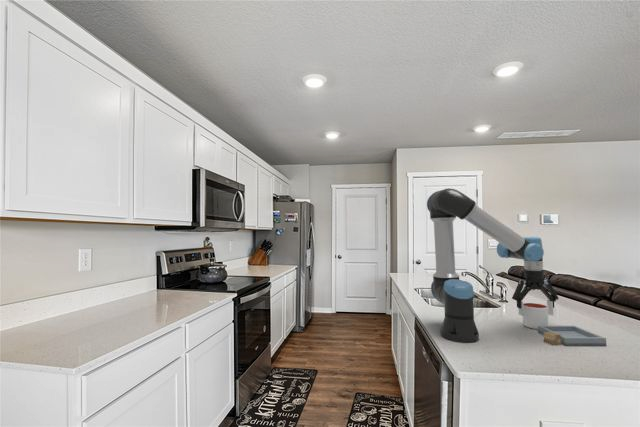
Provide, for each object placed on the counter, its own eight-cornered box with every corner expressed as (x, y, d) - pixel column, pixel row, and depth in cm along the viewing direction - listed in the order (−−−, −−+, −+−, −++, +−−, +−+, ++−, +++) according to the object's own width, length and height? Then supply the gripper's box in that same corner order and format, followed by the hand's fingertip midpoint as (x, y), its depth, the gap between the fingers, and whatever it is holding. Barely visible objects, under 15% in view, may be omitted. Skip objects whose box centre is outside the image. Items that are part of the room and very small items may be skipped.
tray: (565, 345, 126) (565, 338, 126) (538, 332, 142) (538, 325, 142) (606, 345, 126) (605, 338, 126) (574, 332, 142) (574, 325, 142)
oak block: (553, 345, 127) (553, 335, 127) (543, 342, 130) (543, 332, 131) (560, 344, 128) (560, 334, 128) (550, 341, 132) (550, 331, 132)
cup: (552, 331, 144) (552, 308, 145) (528, 329, 146) (527, 307, 147) (542, 324, 154) (541, 303, 154) (519, 323, 156) (518, 302, 156)
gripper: (511, 271, 148) (514, 317, 147) (566, 270, 147) (568, 316, 146) (502, 269, 155) (504, 313, 154) (554, 268, 155) (556, 312, 154)
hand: (535, 315), depth 150 cm, fingers open, 13 cm apart
